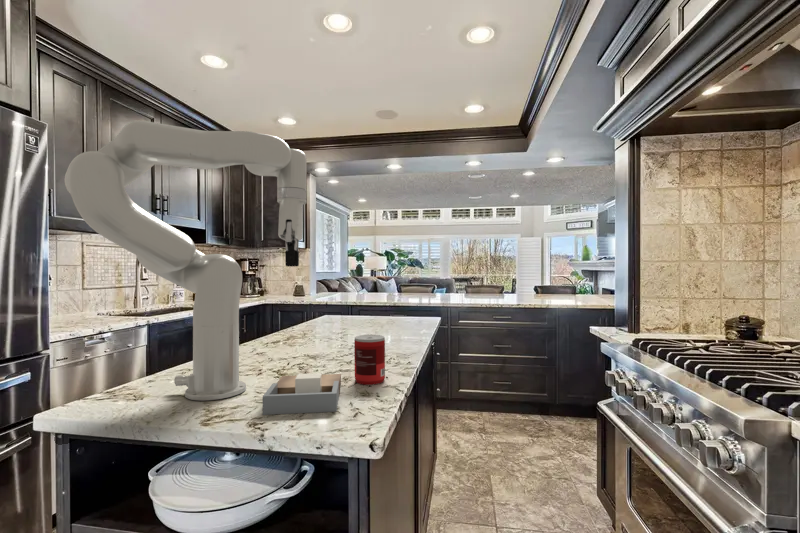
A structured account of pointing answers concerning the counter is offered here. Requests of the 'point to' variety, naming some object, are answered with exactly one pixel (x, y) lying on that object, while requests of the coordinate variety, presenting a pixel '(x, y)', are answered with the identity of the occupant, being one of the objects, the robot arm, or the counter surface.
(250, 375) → the counter surface
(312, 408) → the box
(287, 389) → the board
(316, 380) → the tile block
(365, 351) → the canned food
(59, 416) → the counter surface
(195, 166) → the robot arm
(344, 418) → the counter surface
